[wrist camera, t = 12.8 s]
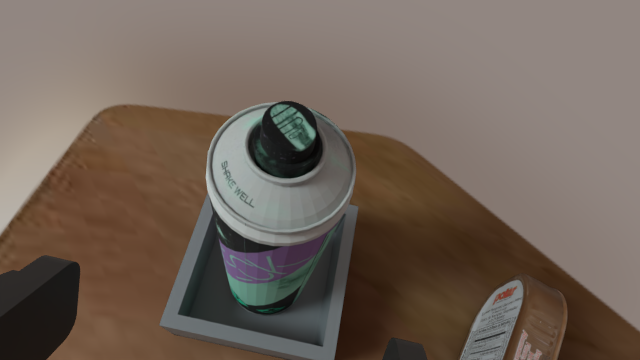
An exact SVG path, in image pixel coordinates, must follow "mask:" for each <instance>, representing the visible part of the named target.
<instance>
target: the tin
mask: <svg viewBox="0 0 640 360" xmlns="http://www.w3.org/2000/svg"><path fill="white" fill-rule="evenodd" d="M567 311H568V310H567V304H566V300H565V298H564V296H563V294H562V293H561V292H560V291H559V290H557V289H555V288H551V287H549V286H547V285H545V284H544V283H542V282H540V281H538V280H536V279H535V278H533V277H531V276H529V275H526V274H523V273H521V274H518V275H516V276H513V277H512V278H510V279H508V280H507V281H505V282H504V283H502V284H500V285H498V286H497V287H496V288H495V289H494V290H493V291H492V292H491V294H490V295H489V296H488V297H487V299H486V300H485V302H484V303H483V305H482V306H481V308H480V310H479V311H478V313H477V315H476V317H475V319H474V321H473V323H472V325H471V327H470V330H469V332H468V335H467V337H466V340H465V342H464V345H463V347H462V350H461V352H460V354H459V357H458V359H457V360H557V359H558V355H559V351H560V348H561V344H562V341H563V338H564V334H565V330H566V325H567Z"/></svg>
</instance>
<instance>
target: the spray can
mask: <svg viewBox="0 0 640 360" xmlns="http://www.w3.org/2000/svg"><path fill="white" fill-rule="evenodd" d="M355 177H356V164H355V157H354V154H353V151H352V147H351V145H350V143H349V142H348V140H347V138H346V136H345V135H344V134H343V132H342V131H341V130H340V129H339V128H338V126H337V125H335V124H334V123H333V122H332V121H331V120H330V119H328V118H327V117H326V116H324V115H322V114H320V113H319V112H317V111H315V110H313V109H310V108H308V107H305V106H303V105H301V104H299V103H296V102H292V101H283V102H274V103H263V104H260V105H256V106H252V107H249V108H247V109H245V110H243V111H241V112H238V113H237V114H236V115H234V116H233V117H231V118H230V119H229V120H227V121H226V122H225V124H224V125H223V126H222V127H221V128H220V129H219V130H218V132H217V133H216V135H215V137H214V138H213V140H212V142H211V145H210V148H209V151H208V157H207V170H206V181H207V189H208V194H209V198H210V203H211V207H212V211H213V216H214V220H215V224H216V229H217V233H218V237H219V242H220V246H221V250H222V255H223V259H224V263H225V268H226V272H227V277H228V281H229V285H230V289H231V292H232V295H233V296H234V298H235V300H236V301H237V303H238V304H239V305H240V306H241V307H242V308H244V309H245V310H247V311H248V312H250V313H253V314H255V315H260V316H271V315H276V314H279V313H281V312H283V311H285V310H286V309H288V308H289V307H291V306H292V304H293V303H294V302H295V301H296V300H297V299H298V297H299V295H300V294H301V292H302V290H303V288H304V286H305V284H306V283H307V281H308V279H309V277H310V275H311V273H312V272H313V270H314V268H315V266H316V264H317V262H318V260H319V259H320V257H321V255H322V253H323V251H324V249H325V248H326V246H327V244H328V242H329V240H330V238H331V236H332V235H333V233H334V231H335V229H336V227H337V225H338V224H339V222H340V220H341V218H342V216H343V214H344V212H345V211H346V209H347V207H348V205H349V202H350V199H351V196H352V194H353V187H354V184H355Z"/></svg>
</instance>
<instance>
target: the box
mask: <svg viewBox="0 0 640 360" xmlns="http://www.w3.org/2000/svg"><path fill="white" fill-rule="evenodd" d="M357 213H358V206H354V205H350V204H349V205H348V207H347V209H346V211H345V212H344V214H343V216H342V218H341V220H340V222H339V224H338V225H337V227H336V229H335V231H334V233H333V235H332V236H331V238H330V240H329V242H328V244H327V246H326V248H325V249H324V251H323V253H322V255H321V257H320V259H319V260H318V262H317V264H316V266H315V268H314V270H313V272H312V273H311V275H310V277H309V279H308V281H307V283H306V284H305V286H304V288H303V290H302V292H301V294H300V295H299V297H298V299H297V300H296V301H295V302H294V303H293V304H292V306H291V307H289V308H288V309H286V310H285V311H283V312H281V313H279V314H276V315H271V316H260V315H255V314H253V313H250V312H248V311H247V310H245V309H244V308H242V307H241V306H240V305H239V304H238V303H237V301H236V300H235V298H234V296H233V295H232V292H231V289H230V285H229V281H228V277H227V272H226V268H225V263H224V259H223V255H222V250H221V246H220V242H219V237H218V233H217V229H216V224H215V220H214V216H213V211H212V207H211V203H210V198H209V194H207V196H206V199H205V202H204V204H203V207H202V210H201V213H200V215H199V218H198V221H197V224H196V226H195V229H194V232H193V234H192V237H191V240H190V243H189V245H188V248H187V251H186V253H185V256H184V259H183V262H182V264H181V267H180V270H179V273H178V275H177V278H176V281H175V283H174V286H173V289H172V292H171V294H170V297H169V300H168V303H167V305H166V308H165V311H164V313H163V316H162V319H161V322H160V324H159V325H160V326H161V327H163V328H164V329H166V330H168V331H169V332H171V333H172V334H174V335H179V336H183V337H188V338H192V339H197V340H201V341H206V342H210V343H215V344H219V345H224V346H228V347H233V348H237V349H242V350H246V351H251V352H255V353H260V354H265V355H269V356H274V357H278V358H283V359H287V360H334V358H335V352H336V345H337V339H338V333H339V326H340V320H341V314H342V307H343V301H344V295H345V288H346V282H347V276H348V269H349V263H350V257H351V251H352V244H353V238H354V232H355V225H356V219H357Z"/></svg>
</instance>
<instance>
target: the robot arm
mask: <svg viewBox="0 0 640 360" xmlns="http://www.w3.org/2000/svg"><path fill="white" fill-rule="evenodd" d="M79 279H80V266H79V264H78V263H77V262H73V261H68V260H64V259H60V258H56V257H51V256H47V255H44V256H41V257H39V258H38V259H36V260H35V261H33V262H32V263H30V264H29V265H27V266H26V267H24V268H23V269H21V270H20V271H15V270H12V271H9V272H6V273H3V274H1V275H0V360H46V359H47V358H48V357H49V356H50V355H51V354H52V353H53V352H54V351H55V350H56V349H57V348H58V347H59V346H60V345H61V344H62V343H63V341H64V340H65V339H66V338H67V336H68V335H69V333H70V331H71V330H72V328H73V325H74V323H75V320H76V315H77V304H78V292H79ZM382 360H427V357H426V354H425V351H424V348H423V346H422V345H421V344H419V343H414V342H410V341H406V340H402V339H397V338H391V339H390V341H389V343H388V345H387V348H386V351H385V354H384V356H383V359H382Z"/></svg>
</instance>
